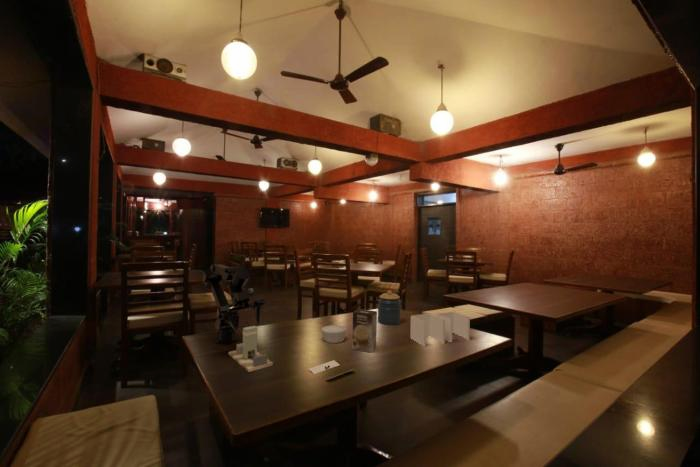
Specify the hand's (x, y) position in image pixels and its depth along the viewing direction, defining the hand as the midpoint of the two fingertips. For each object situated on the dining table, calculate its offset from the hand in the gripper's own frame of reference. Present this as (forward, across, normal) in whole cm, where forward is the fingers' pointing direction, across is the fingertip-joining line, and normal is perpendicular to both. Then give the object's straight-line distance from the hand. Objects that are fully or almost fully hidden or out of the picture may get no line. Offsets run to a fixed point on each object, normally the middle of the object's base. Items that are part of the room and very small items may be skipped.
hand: (247, 326), depth 125 cm
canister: (+12, +79, +16) cm, 81 cm away
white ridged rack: (+12, -1, +4) cm, 12 cm away
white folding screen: (+34, +79, -10) cm, 87 cm away
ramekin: (+14, +38, +8) cm, 41 cm away
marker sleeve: (+11, -1, +4) cm, 11 cm away
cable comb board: (+12, -1, +4) cm, 12 cm away
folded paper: (+31, +19, -14) cm, 39 cm away
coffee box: (+25, +42, -4) cm, 49 cm away
